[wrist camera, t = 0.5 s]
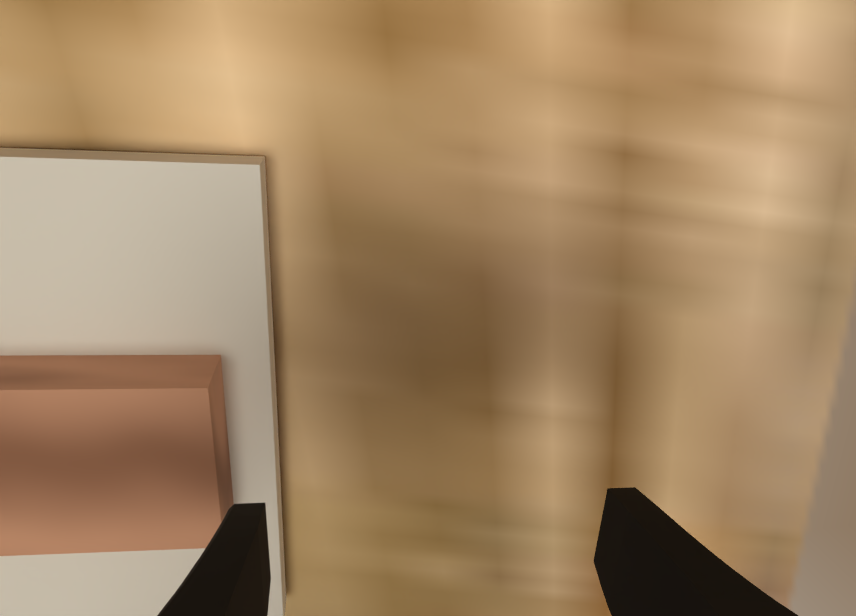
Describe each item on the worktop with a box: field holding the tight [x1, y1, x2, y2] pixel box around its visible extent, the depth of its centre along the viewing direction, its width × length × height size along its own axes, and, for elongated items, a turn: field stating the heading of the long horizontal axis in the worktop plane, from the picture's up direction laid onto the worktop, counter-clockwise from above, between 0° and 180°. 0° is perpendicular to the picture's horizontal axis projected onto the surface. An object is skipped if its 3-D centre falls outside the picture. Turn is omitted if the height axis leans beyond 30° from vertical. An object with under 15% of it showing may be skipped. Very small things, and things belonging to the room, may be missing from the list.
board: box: [0, 148, 286, 616], centre depth 21 cm, size 18×13×1 cm
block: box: [0, 355, 234, 556], centre depth 20 cm, size 6×8×2 cm
